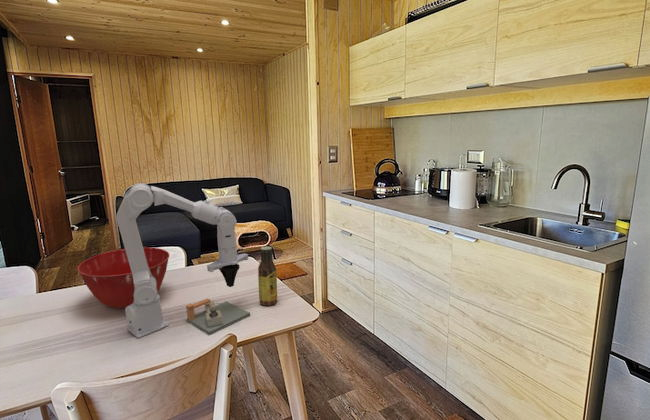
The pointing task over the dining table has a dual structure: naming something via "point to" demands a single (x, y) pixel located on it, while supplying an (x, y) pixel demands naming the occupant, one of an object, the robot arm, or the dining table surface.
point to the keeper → (191, 307)
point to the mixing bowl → (119, 275)
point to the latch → (212, 320)
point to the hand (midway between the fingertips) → (230, 285)
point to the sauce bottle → (267, 278)
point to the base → (229, 317)
